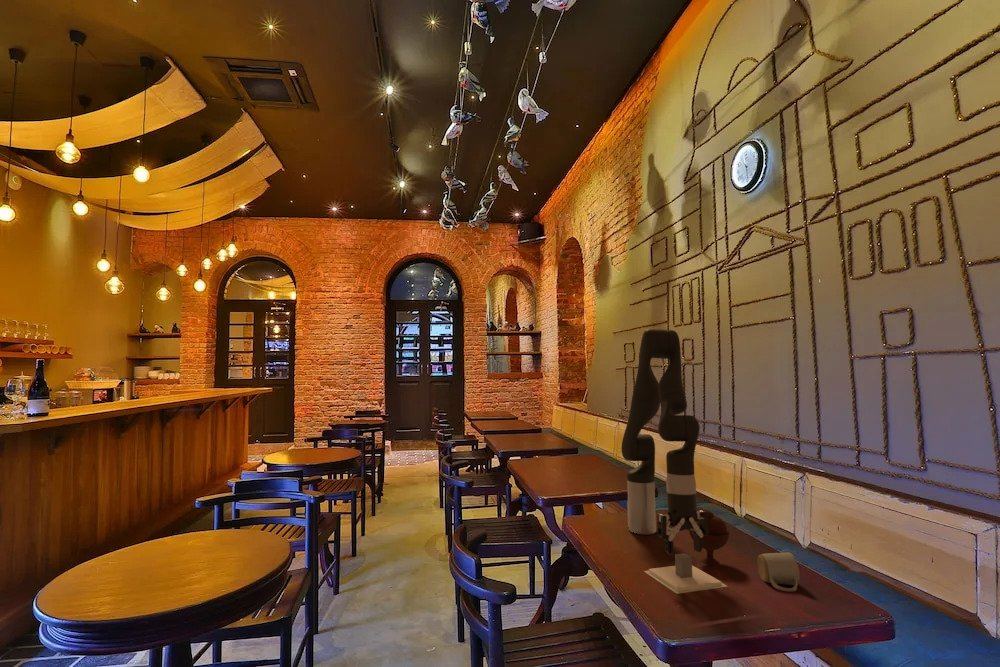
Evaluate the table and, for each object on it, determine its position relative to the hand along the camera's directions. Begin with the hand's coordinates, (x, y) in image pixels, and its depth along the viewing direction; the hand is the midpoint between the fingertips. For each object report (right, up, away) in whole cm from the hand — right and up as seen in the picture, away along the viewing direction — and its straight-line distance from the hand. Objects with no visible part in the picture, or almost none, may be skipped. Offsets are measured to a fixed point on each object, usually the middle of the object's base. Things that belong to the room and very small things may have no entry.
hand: (683, 552), depth 134 cm
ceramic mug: (+24, -7, -4) cm, 25 cm away
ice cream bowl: (+12, -8, +11) cm, 18 cm away
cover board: (0, -7, 0) cm, 7 cm away
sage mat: (0, -7, 0) cm, 7 cm away
